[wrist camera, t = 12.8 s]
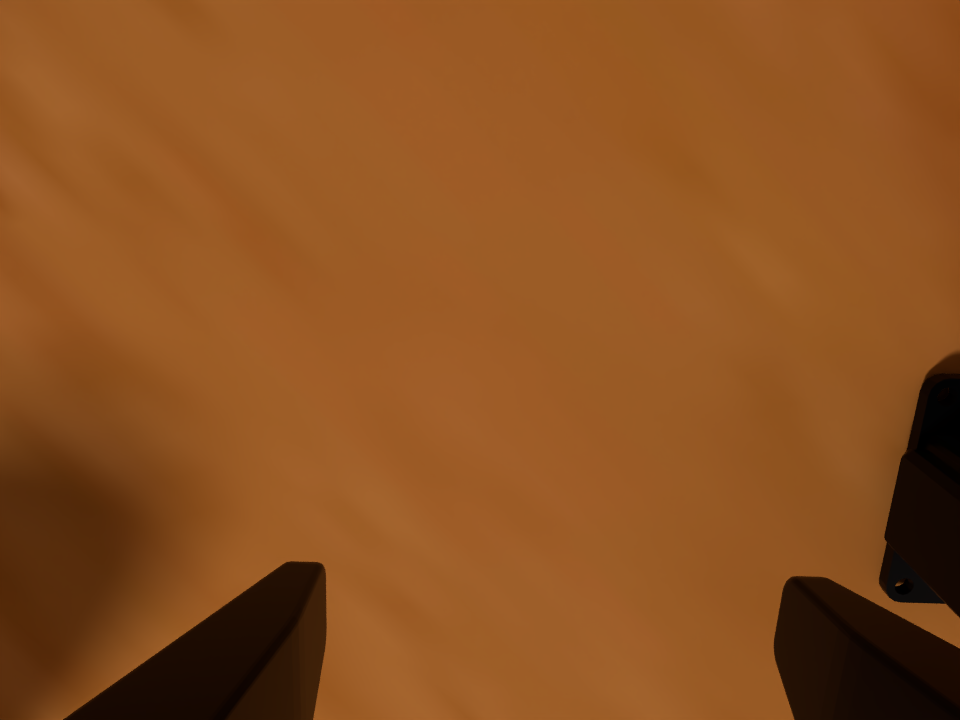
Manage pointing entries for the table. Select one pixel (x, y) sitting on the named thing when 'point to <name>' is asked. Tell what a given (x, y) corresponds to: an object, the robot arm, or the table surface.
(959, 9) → the table surface
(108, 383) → the table surface
